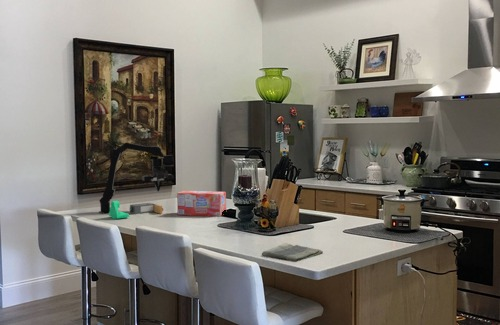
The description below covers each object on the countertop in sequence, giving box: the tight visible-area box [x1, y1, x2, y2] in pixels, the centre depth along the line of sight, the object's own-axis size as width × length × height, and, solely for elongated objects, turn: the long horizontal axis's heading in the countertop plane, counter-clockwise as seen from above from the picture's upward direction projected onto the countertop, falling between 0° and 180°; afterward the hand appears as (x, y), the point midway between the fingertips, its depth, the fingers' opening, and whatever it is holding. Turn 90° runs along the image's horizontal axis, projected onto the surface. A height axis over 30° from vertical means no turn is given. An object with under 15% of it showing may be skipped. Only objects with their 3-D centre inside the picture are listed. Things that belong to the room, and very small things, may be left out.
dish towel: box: [261, 242, 324, 263], centre depth 228 cm, size 19×18×3 cm
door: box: [153, 203, 164, 215], centre depth 344 cm, size 2×11×5 cm, turn 31°
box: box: [176, 190, 227, 217], centre depth 335 cm, size 27×13×14 cm, turn 75°
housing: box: [129, 202, 155, 215], centre depth 347 cm, size 7×14×5 cm, turn 125°
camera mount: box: [108, 200, 130, 220], centre depth 329 cm, size 12×8×10 cm, turn 36°
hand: (158, 191), depth 354 cm, fingers closed
